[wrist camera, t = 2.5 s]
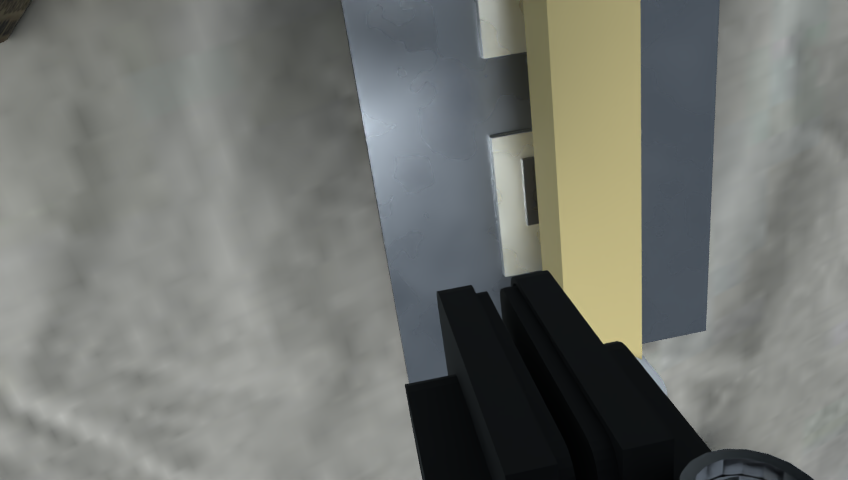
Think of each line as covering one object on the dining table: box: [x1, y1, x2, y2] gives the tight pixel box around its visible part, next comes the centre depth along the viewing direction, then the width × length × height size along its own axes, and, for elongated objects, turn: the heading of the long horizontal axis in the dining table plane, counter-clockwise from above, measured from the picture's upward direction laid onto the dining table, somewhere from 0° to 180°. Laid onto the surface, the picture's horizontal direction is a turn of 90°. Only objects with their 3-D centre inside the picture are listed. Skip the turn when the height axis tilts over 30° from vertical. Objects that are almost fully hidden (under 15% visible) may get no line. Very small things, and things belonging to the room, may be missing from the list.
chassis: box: [341, 0, 719, 383], centre depth 25 cm, size 24×14×4 cm, turn 8°
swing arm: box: [523, 0, 667, 396], centre depth 23 cm, size 20×4×3 cm, turn 8°
